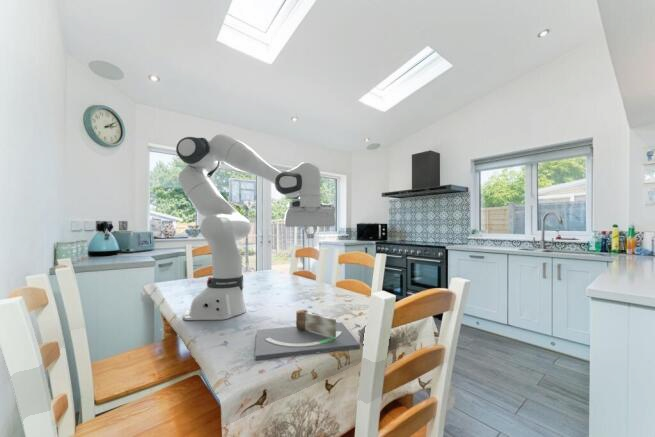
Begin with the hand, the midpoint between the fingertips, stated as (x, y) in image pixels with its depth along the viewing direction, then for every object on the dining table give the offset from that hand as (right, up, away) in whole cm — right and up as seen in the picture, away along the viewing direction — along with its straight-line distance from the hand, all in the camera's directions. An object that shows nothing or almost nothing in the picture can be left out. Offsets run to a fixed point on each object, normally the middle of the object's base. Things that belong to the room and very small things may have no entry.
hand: (310, 238), depth 109 cm
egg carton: (+21, -29, -27) cm, 45 cm away
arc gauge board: (0, -28, -28) cm, 39 cm away
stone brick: (+3, -27, -25) cm, 37 cm away
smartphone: (+3, -29, -10) cm, 31 cm away
